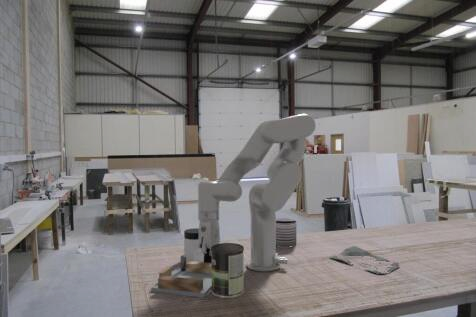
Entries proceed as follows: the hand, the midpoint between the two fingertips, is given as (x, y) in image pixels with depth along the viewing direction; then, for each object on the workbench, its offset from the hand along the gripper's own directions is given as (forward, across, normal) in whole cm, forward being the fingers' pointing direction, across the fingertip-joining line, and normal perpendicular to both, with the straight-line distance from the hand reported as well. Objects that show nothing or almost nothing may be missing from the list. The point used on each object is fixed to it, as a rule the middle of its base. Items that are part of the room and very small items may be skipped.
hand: (208, 265), depth 131 cm
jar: (+3, +11, +10) cm, 16 cm away
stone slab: (+3, +27, -55) cm, 61 cm away
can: (+2, +44, -20) cm, 48 cm away
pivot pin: (+1, -4, +8) cm, 9 cm away
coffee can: (+3, -14, -12) cm, 19 cm away
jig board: (+3, -11, +3) cm, 11 cm away
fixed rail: (+1, -19, +2) cm, 19 cm away
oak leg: (+1, -4, +1) cm, 4 cm away
